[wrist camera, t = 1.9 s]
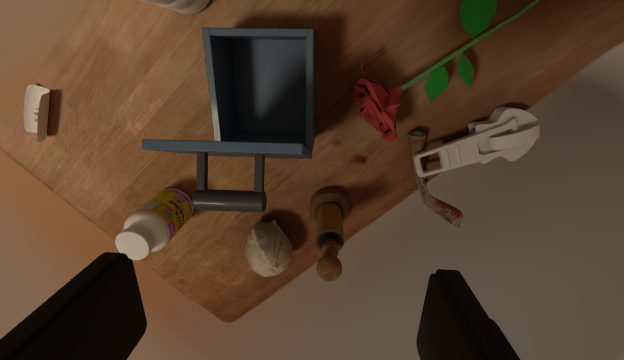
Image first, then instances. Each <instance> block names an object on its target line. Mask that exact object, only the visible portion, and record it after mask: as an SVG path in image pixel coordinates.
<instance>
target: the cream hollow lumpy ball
mask: <svg viewBox="0 0 624 360" xmlns="http://www.w3.org/2000/svg"><path fill="white" fill-rule="evenodd" d="M245 255H246V257H247V260H248V264H249V265H250V267H251V269H252V271H254V272H255V273H257V274H259V275H261V276H264V277H268V276H275V275H278V274H279V273H281V272H282V271H284V270H286V269H287V268H288V266H289V264H290V261H291V258H292V245H291V242H290V240H289V239H288V237H287V236H286V235H285V234H284V231H282V230H281V229H280V227H279V226H278V225H277V222H276V221H275V220H272V222H270V223H269V222H258V223H256V224H254V226H253V229H252V231H251V233H250V234H249V235H248V238H247V243H246V246H245Z"/></svg>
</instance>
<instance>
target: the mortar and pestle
mask: <svg viewBox="0 0 624 360" xmlns="http://www.w3.org/2000/svg"><path fill="white" fill-rule="evenodd" d="M348 213H349V206H348V200H347V197H346V196H345V194H344V193H343V192H342V191H340V190H338V189H336V188H332V187H327V188H323V189H320V190H319V191H317V192H316V193H315V194H314V195H313V197H312V199H311V202H310V214H311V217H312V219H313V220H314V222H315V223H317V227H316V240H315V242H316V246H317V247H318V249H319V250H321V255H322V256H323V257H322V258H321V259H320V260H319V261H318V264H317V272H318V275H319V276H320V277H321V278H322V279H323V280H325V281H334V280H336V279H337V278H338V277H339V276H340V274H341V271H342V265H341V262H340V260H339V259H338V258H337V255H338V251H339V250H341V249H342V247H343V245H344V235H343V226H342V223H343V222H344V221H345V220H346V218H347V216H348Z"/></svg>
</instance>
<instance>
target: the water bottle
mask: <svg viewBox="0 0 624 360" xmlns="http://www.w3.org/2000/svg"><path fill="white" fill-rule="evenodd" d="M140 1H144V2H148V3H154V4H156V5H158V6H160V7H163V8H167V9H172V10H174V11H177V12H179V13H183V14H195V13H198V12H200V11H202V10H203V9H204V8H205V7H206V6H207V4H208V3H209V1H210V0H140Z"/></svg>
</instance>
